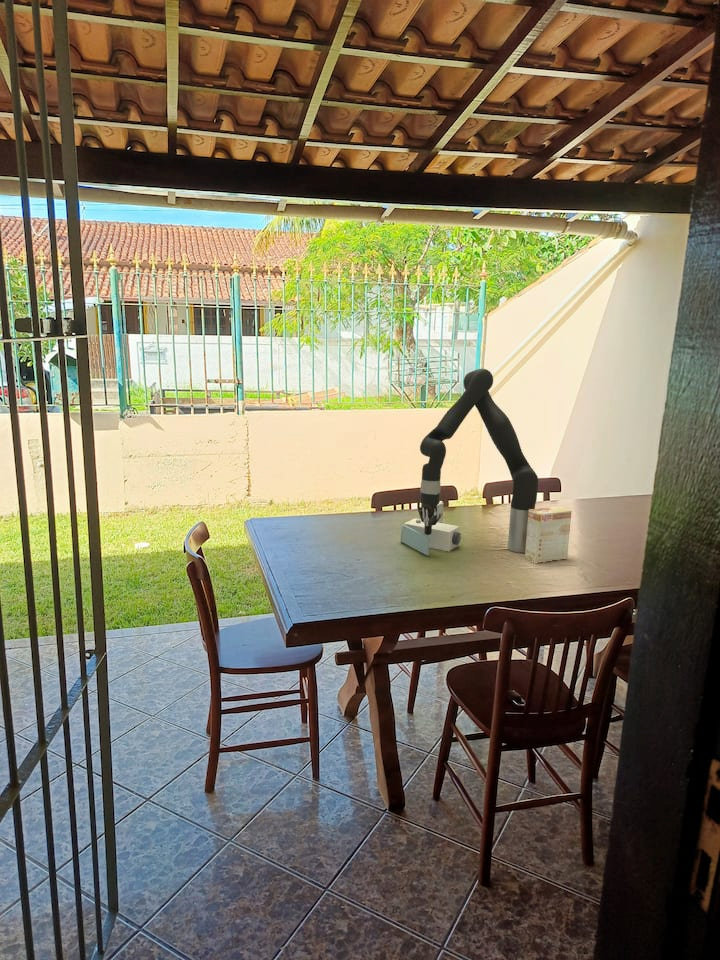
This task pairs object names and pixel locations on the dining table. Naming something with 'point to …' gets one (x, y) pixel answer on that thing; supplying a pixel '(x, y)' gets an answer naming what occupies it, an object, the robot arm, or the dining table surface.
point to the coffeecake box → (548, 534)
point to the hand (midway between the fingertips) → (427, 534)
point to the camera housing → (438, 534)
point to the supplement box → (439, 511)
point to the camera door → (415, 539)
